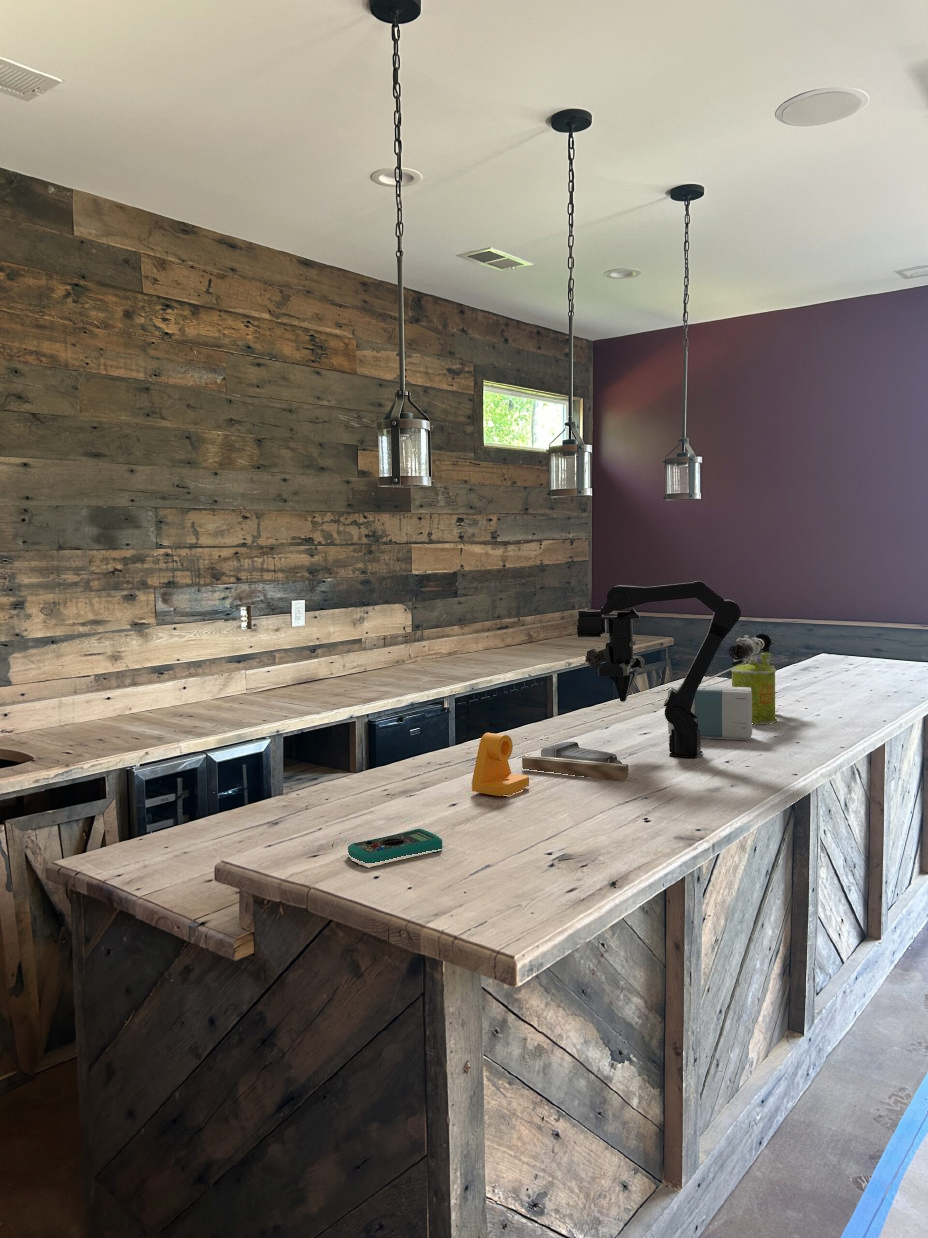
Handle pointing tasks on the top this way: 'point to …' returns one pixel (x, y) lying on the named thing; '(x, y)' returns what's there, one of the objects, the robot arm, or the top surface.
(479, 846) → the top surface
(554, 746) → the handheld device
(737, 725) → the stereo radio cassette player
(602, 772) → the beam
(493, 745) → the bracket
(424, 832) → the digital multimeter
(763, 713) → the blowtorch
